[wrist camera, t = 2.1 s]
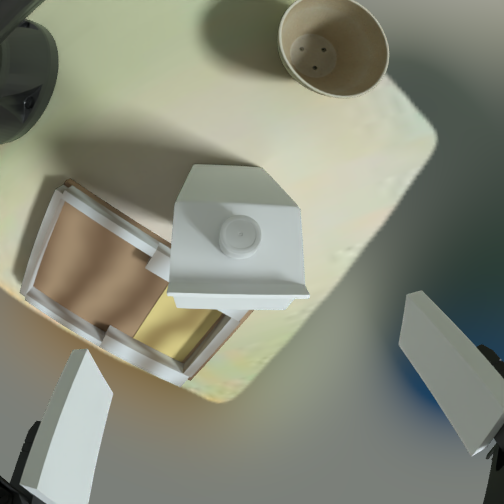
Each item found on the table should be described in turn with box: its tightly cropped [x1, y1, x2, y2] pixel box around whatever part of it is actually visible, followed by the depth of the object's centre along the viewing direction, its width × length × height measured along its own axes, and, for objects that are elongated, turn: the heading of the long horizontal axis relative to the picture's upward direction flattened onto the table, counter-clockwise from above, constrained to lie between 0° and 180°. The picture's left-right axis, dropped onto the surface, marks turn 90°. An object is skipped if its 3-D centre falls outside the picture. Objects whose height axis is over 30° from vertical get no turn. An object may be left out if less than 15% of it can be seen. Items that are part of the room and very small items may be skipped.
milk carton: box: [167, 164, 310, 310], centre depth 24 cm, size 7×7×19 cm
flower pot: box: [277, 0, 389, 98], centre depth 24 cm, size 10×10×7 cm
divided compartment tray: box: [20, 179, 254, 387], centre depth 34 cm, size 26×16×3 cm, turn 53°
